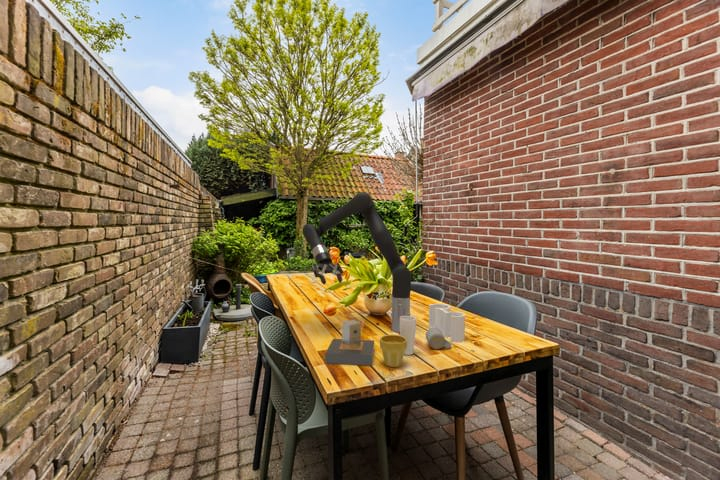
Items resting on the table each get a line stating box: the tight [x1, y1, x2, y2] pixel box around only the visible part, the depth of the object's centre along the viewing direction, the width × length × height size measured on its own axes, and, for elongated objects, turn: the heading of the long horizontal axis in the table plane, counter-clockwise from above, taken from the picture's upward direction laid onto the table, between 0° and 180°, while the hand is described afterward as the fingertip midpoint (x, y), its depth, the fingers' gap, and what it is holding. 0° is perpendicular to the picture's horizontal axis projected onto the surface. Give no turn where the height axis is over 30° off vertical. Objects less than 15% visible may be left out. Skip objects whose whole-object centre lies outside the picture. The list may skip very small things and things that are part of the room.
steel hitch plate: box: [324, 338, 375, 367], centre depth 130 cm, size 18×16×4 cm
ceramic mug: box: [425, 327, 452, 350], centre depth 141 cm, size 11×8×8 cm
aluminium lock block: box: [341, 319, 362, 349], centre depth 131 cm, size 6×6×10 cm
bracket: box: [428, 303, 466, 343], centre depth 159 cm, size 25×10×12 cm, turn 12°
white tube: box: [399, 315, 417, 356], centre depth 133 cm, size 7×7×15 cm
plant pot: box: [379, 334, 407, 368], centre depth 123 cm, size 10×10×10 cm
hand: (333, 282), depth 149 cm, fingers open, 8 cm apart
